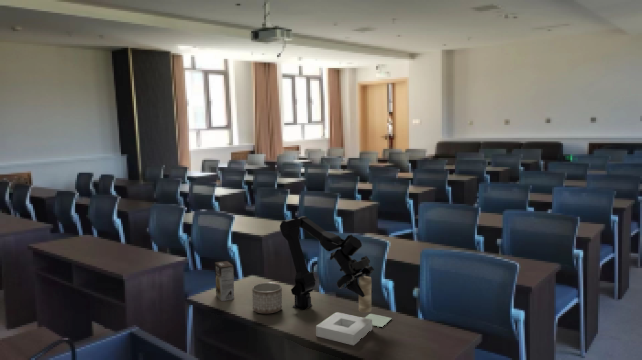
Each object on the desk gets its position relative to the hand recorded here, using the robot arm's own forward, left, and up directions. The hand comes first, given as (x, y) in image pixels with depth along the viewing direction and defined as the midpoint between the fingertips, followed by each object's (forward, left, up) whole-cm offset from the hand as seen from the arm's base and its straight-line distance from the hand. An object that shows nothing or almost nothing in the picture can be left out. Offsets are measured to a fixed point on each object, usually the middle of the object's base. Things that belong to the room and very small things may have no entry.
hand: (367, 294), depth 192 cm
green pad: (0, +7, -14) cm, 15 cm away
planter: (-46, -5, -14) cm, 48 cm away
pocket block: (-6, -9, -14) cm, 17 cm away
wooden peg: (-1, 0, -7) cm, 7 cm away
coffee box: (-73, -2, -14) cm, 74 cm away
